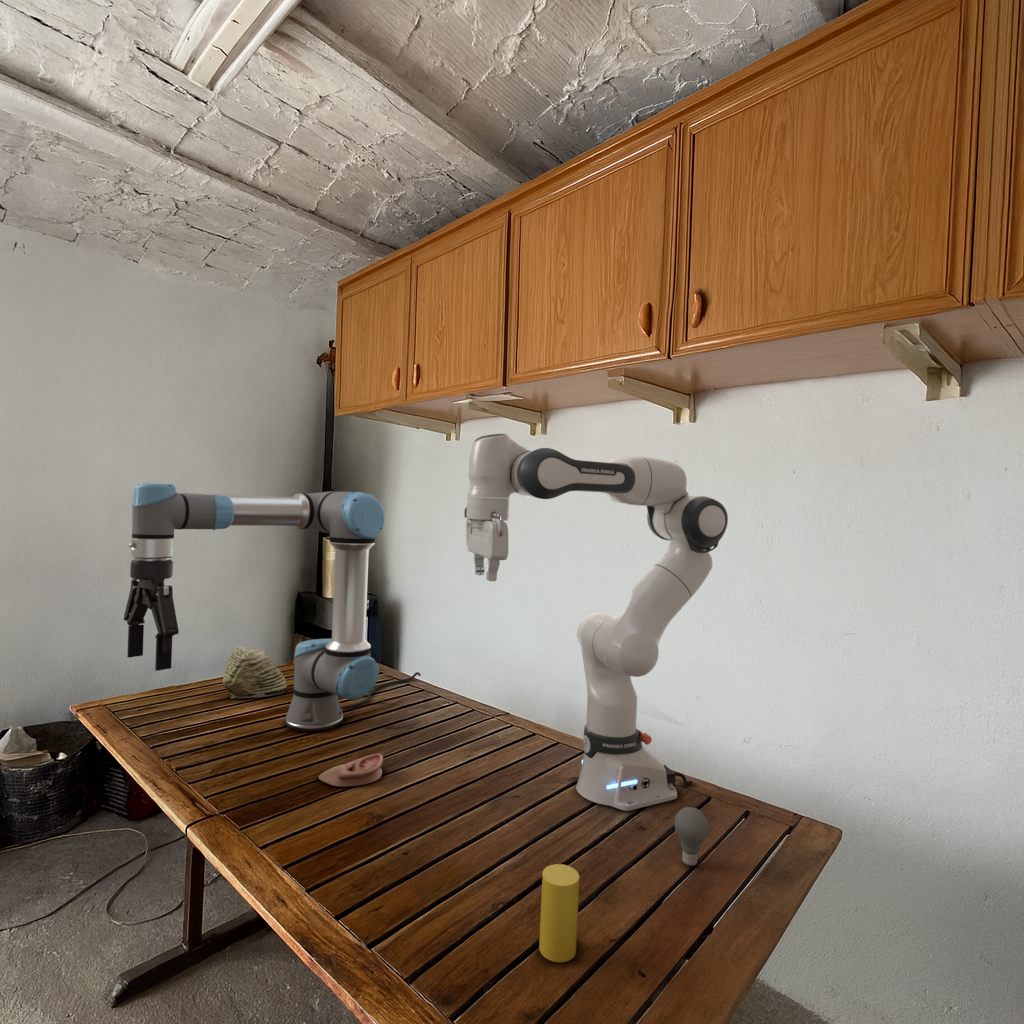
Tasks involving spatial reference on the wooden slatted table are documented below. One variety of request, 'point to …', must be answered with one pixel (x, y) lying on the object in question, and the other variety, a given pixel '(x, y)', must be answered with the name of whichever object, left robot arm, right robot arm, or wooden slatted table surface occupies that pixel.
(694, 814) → the light bulb
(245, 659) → the fossil
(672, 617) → the right robot arm
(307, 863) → the wooden slatted table surface
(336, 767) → the anatomical model
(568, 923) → the cylinder
